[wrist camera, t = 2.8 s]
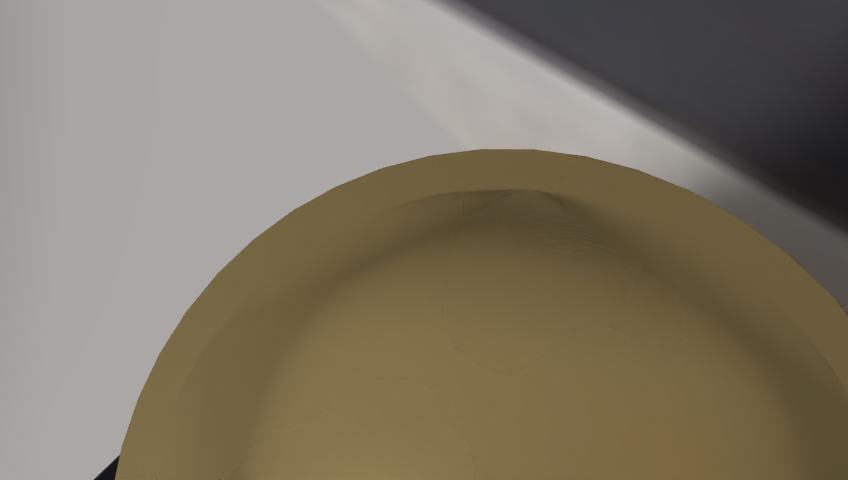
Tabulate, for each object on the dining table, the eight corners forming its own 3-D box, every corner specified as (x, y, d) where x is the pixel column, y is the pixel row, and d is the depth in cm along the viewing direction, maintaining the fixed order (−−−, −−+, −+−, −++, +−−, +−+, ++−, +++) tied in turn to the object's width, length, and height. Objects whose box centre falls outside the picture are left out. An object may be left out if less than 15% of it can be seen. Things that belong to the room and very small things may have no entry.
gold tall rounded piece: (615, 554, 16) (780, 1255, 4) (406, 461, 18) (-12, 768, 5) (693, 338, 17) (1088, 319, 4) (483, 260, 18) (279, 51, 5)
